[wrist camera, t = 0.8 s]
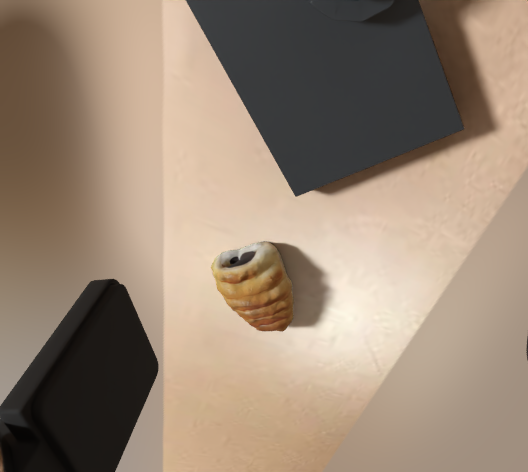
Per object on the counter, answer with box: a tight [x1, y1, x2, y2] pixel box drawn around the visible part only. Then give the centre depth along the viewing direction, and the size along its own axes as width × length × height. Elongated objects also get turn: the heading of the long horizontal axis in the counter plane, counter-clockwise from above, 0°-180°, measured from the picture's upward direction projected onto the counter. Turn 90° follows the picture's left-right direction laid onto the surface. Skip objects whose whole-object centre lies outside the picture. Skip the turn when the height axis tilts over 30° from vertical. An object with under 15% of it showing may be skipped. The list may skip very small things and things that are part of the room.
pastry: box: [211, 242, 294, 331], centre depth 45 cm, size 9×7×4 cm
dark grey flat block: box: [186, 0, 464, 196], centre depth 33 cm, size 16×14×4 cm
